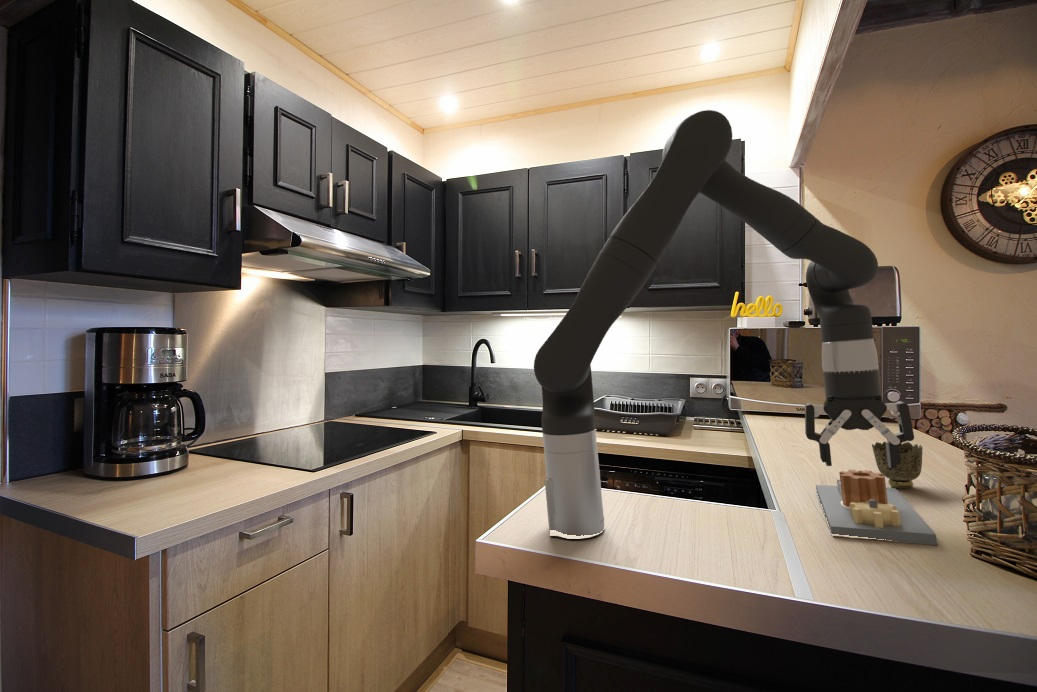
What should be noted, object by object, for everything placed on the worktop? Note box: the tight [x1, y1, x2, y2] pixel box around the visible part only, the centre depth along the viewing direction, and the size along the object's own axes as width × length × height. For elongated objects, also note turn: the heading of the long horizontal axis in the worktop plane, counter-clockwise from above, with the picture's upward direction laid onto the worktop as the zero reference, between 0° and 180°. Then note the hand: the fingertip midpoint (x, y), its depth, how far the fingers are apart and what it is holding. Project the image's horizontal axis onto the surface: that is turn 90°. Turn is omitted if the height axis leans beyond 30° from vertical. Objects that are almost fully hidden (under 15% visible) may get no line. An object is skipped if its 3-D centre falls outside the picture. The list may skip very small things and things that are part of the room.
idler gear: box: [839, 469, 888, 506], centre depth 75 cm, size 6×6×5 cm
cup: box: [871, 441, 923, 490], centre depth 87 cm, size 8×7×8 cm
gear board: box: [815, 477, 938, 546], centre depth 75 cm, size 22×12×4 cm, turn 152°
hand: (859, 466), depth 75 cm, fingers open, 8 cm apart
